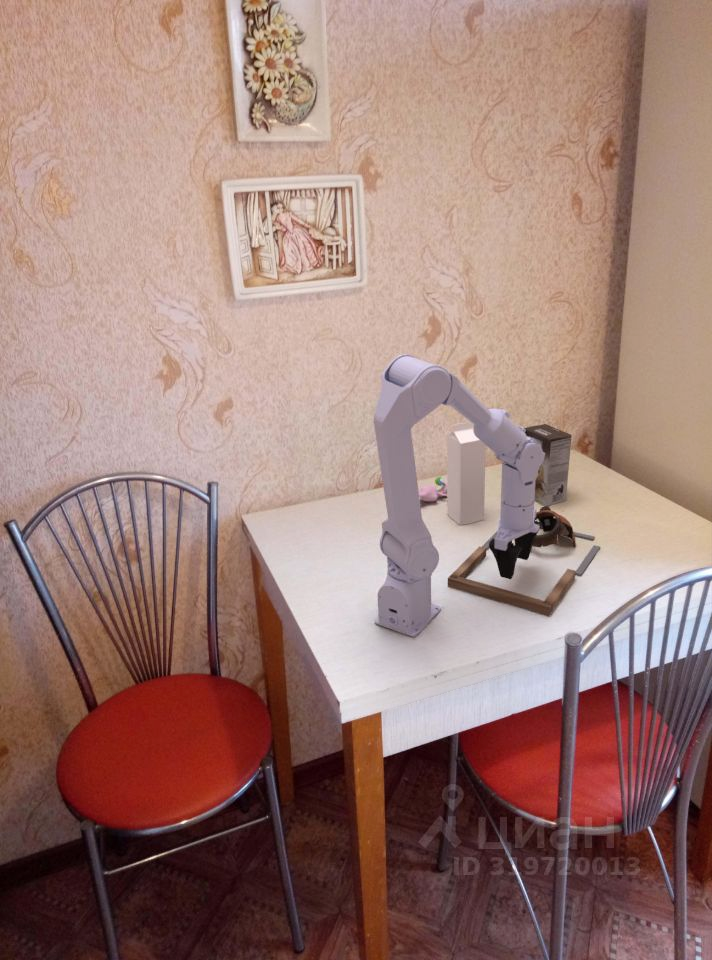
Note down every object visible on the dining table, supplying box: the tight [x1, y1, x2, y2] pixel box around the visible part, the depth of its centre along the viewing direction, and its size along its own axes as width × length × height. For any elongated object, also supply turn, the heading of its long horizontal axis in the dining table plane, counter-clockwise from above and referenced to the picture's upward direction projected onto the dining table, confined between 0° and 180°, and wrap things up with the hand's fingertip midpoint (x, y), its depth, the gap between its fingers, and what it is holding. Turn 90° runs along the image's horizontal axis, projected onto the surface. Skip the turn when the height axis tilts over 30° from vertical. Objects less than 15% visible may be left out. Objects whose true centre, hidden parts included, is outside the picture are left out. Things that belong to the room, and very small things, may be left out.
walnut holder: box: [447, 546, 576, 617], centre depth 124 cm, size 14×19×2 cm
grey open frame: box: [481, 527, 601, 577], centre depth 136 cm, size 16×20×1 cm
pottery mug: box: [532, 505, 577, 548], centre depth 137 cm, size 12×10×8 cm
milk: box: [446, 421, 487, 526], centre depth 145 cm, size 6×6×22 cm
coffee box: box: [523, 423, 573, 507], centre depth 154 cm, size 9×6×16 cm
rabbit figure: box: [418, 476, 447, 503], centre depth 158 cm, size 6×6×15 cm
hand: (514, 567), depth 124 cm, fingers open, 7 cm apart
